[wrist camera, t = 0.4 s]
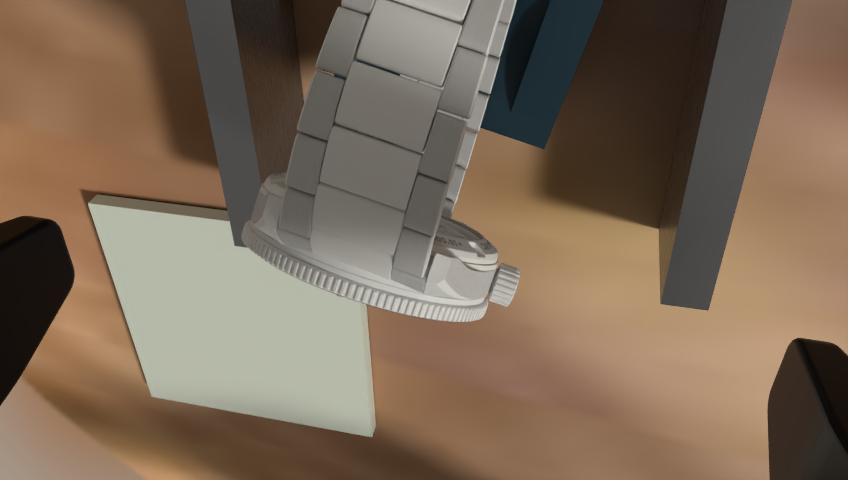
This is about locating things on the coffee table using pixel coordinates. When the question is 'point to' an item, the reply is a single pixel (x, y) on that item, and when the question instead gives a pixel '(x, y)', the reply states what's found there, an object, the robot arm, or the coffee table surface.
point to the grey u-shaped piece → (692, 163)
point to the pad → (233, 320)
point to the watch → (413, 147)
